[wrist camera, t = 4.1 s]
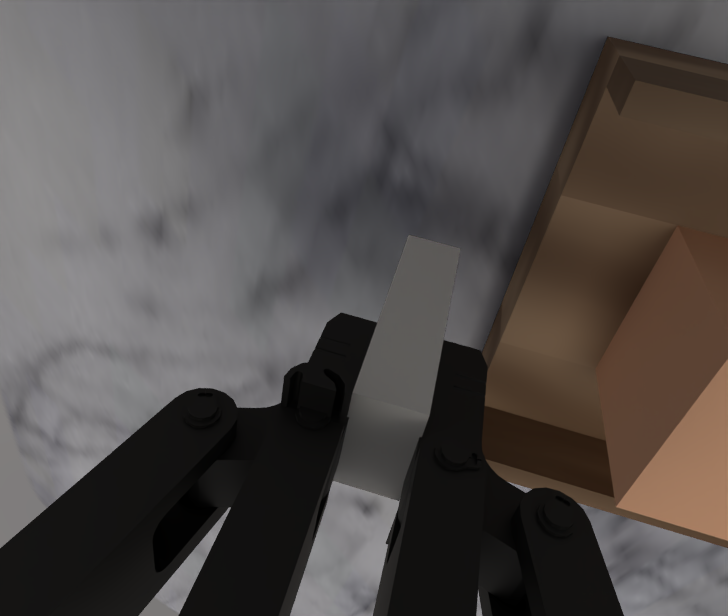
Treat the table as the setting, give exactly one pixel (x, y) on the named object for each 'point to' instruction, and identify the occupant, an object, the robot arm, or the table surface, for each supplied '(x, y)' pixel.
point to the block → (672, 389)
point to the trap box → (601, 262)
